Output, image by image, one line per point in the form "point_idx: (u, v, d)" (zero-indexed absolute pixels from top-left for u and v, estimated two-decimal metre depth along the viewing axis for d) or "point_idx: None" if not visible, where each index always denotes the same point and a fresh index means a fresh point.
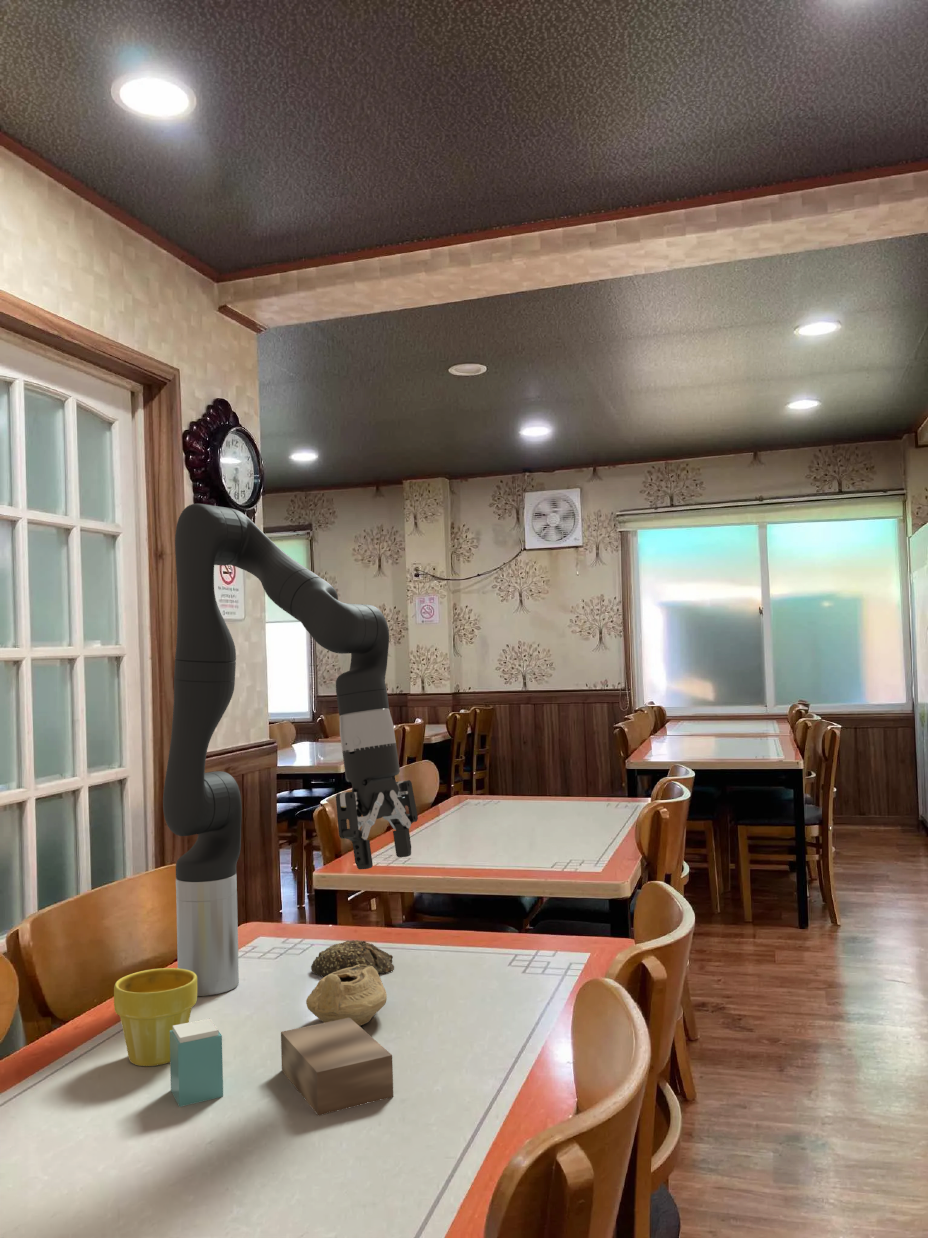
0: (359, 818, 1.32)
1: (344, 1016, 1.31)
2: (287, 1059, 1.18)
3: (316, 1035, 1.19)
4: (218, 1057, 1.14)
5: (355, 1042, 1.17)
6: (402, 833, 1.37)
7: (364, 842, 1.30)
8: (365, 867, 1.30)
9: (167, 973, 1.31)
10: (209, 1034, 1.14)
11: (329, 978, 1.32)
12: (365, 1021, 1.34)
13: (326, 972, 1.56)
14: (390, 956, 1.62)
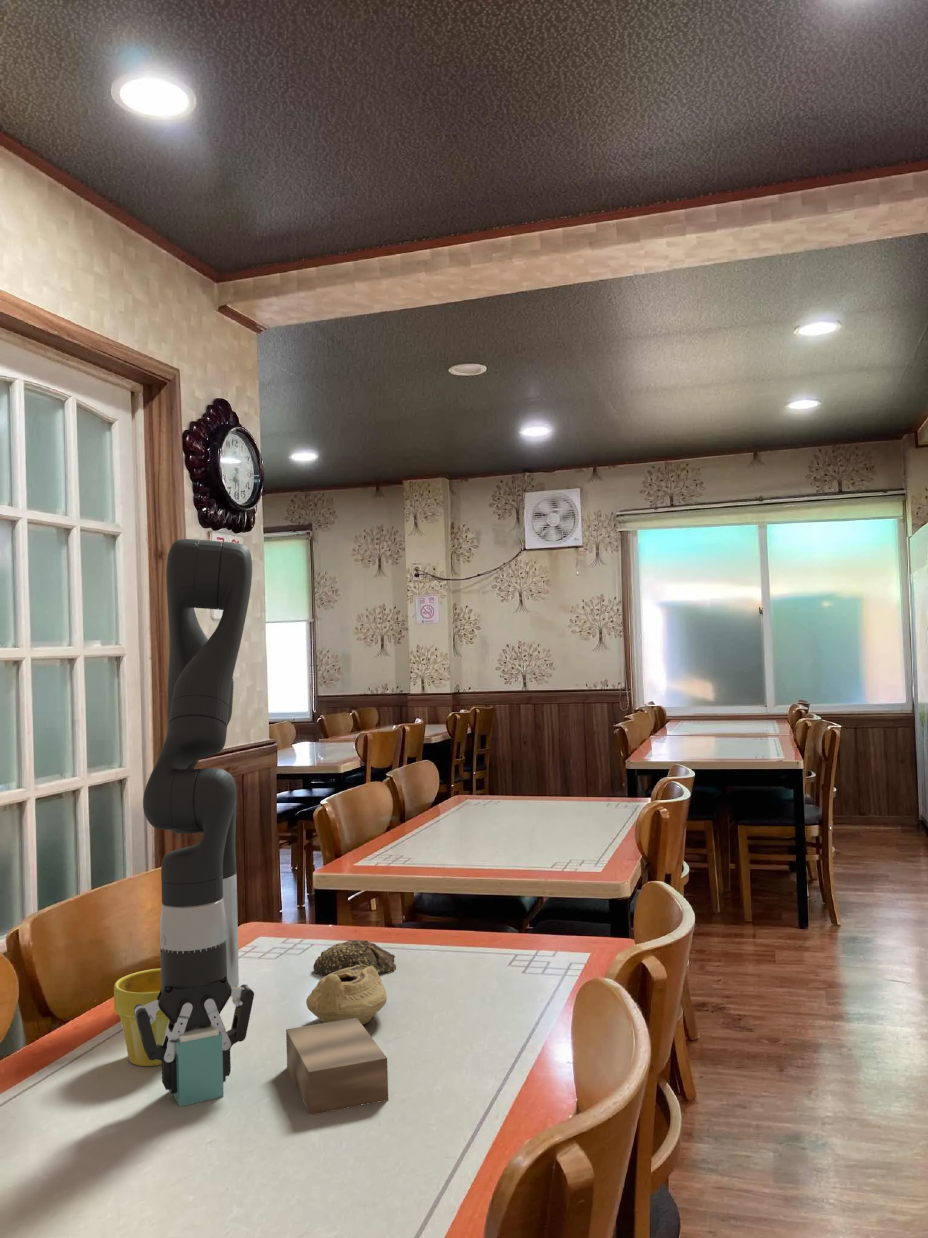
0: (168, 1032, 1.14)
1: (344, 1016, 1.31)
2: (290, 1057, 1.19)
3: (319, 1034, 1.20)
4: (218, 1057, 1.14)
5: (355, 1042, 1.16)
6: None
7: (170, 1063, 1.13)
8: (169, 1091, 1.13)
9: None
10: (209, 1034, 1.14)
11: (329, 978, 1.32)
12: (365, 1021, 1.34)
13: (329, 972, 1.56)
14: (392, 955, 1.62)
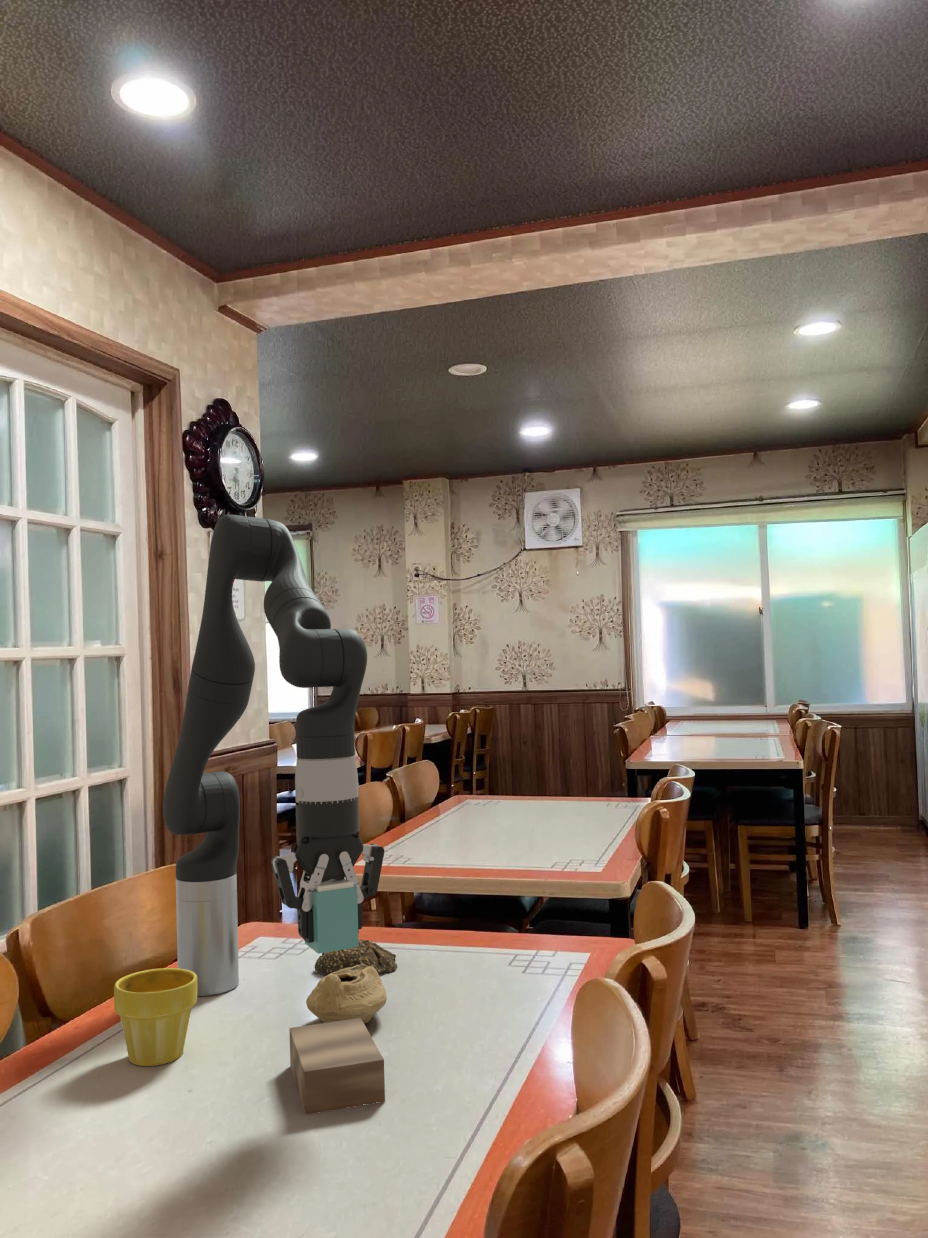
0: (304, 883, 1.16)
1: (344, 1016, 1.31)
2: (292, 1055, 1.19)
3: (320, 1034, 1.20)
4: (354, 908, 1.16)
5: (355, 1043, 1.16)
6: None
7: (307, 912, 1.15)
8: (306, 940, 1.15)
9: (167, 973, 1.31)
10: (345, 885, 1.16)
11: (329, 978, 1.32)
12: (365, 1021, 1.34)
13: (330, 971, 1.56)
14: (393, 955, 1.62)
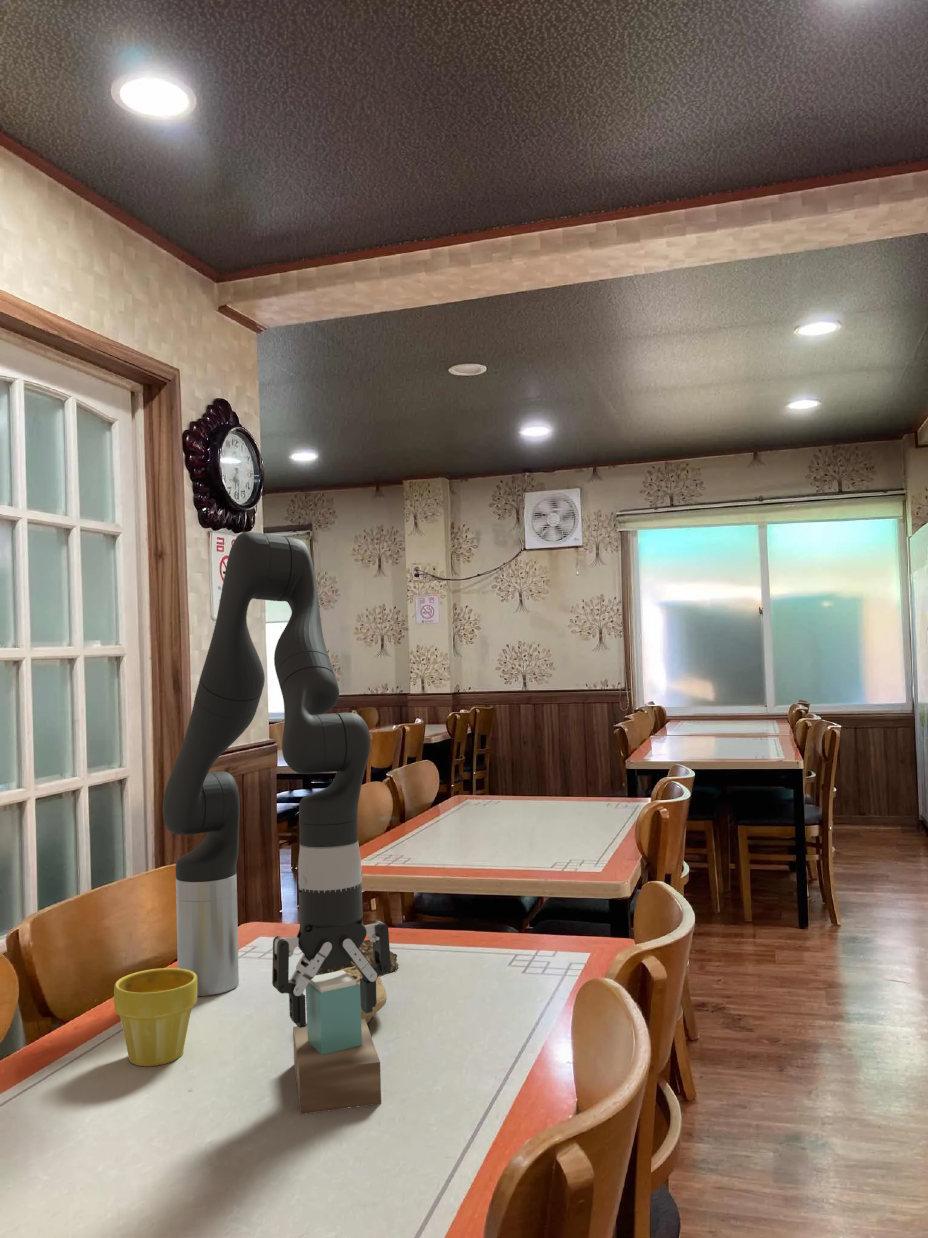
0: (301, 967, 1.15)
1: None
2: None
3: None
4: (357, 1006, 1.16)
5: None
6: (365, 985, 1.18)
7: (298, 997, 1.14)
8: (298, 1025, 1.14)
9: (167, 973, 1.31)
10: (348, 984, 1.15)
11: None
12: None
13: (331, 971, 1.56)
14: (394, 955, 1.63)
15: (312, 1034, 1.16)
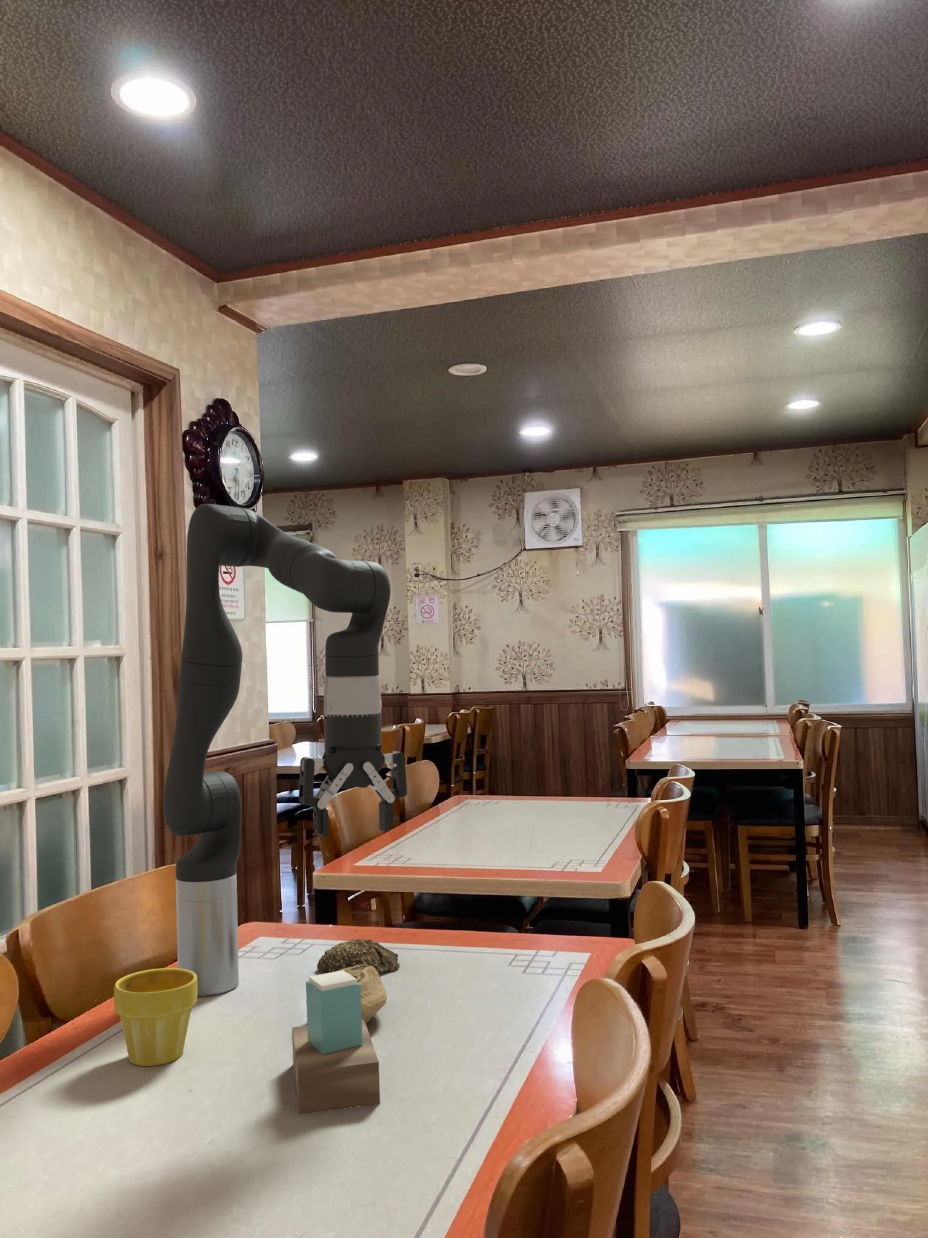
0: (325, 785, 1.28)
1: None
2: None
3: None
4: (357, 1006, 1.16)
5: None
6: (383, 806, 1.30)
7: (321, 810, 1.26)
8: (321, 836, 1.27)
9: (167, 973, 1.31)
10: (348, 983, 1.16)
11: None
12: (365, 1021, 1.34)
13: (332, 971, 1.56)
14: (395, 955, 1.63)
15: (312, 1034, 1.16)
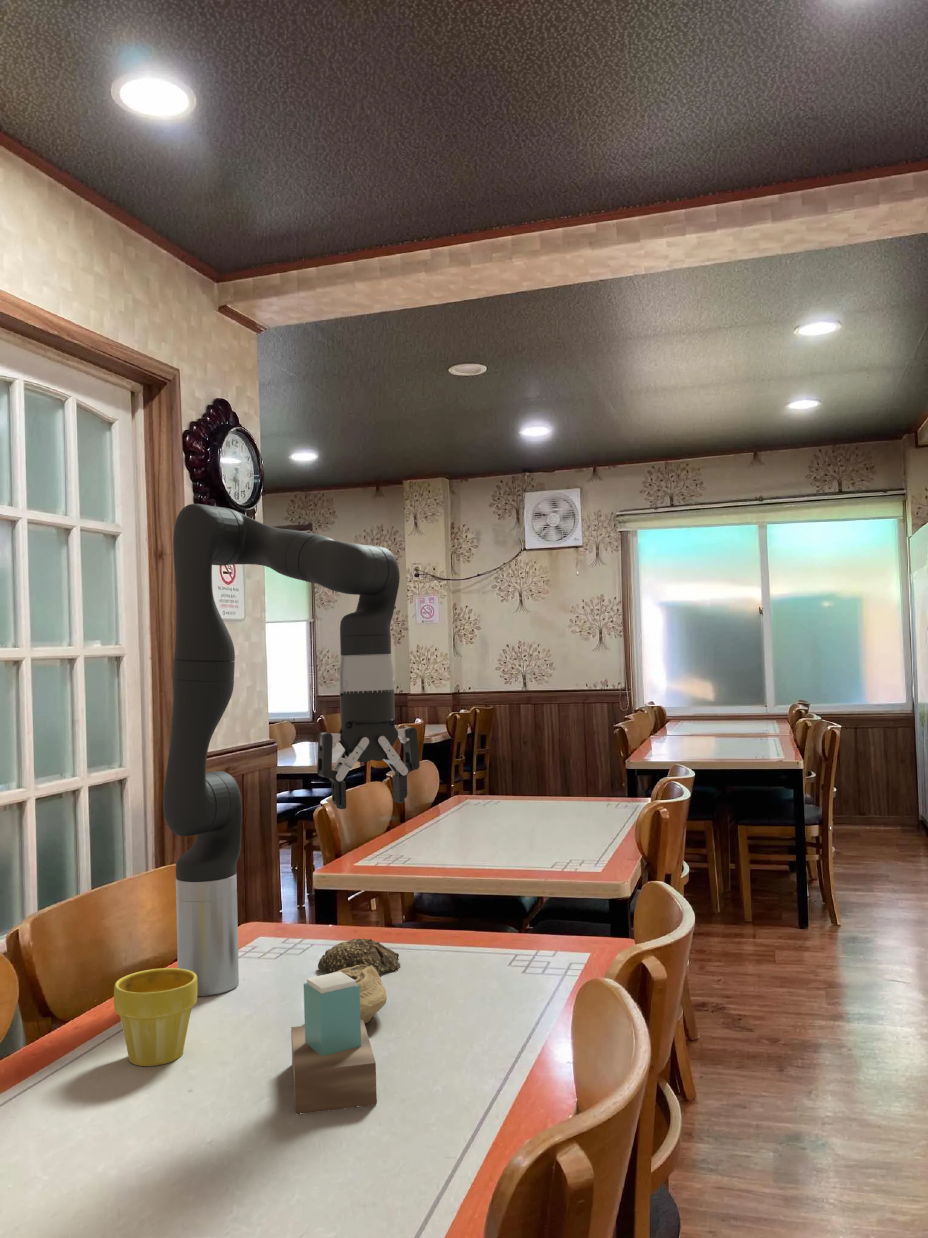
0: (342, 759, 1.34)
1: None
2: (292, 1055, 1.20)
3: None
4: (356, 1007, 1.15)
5: None
6: (397, 779, 1.37)
7: (340, 783, 1.33)
8: (339, 807, 1.33)
9: (167, 973, 1.31)
10: (347, 985, 1.15)
11: None
12: (365, 1021, 1.34)
13: (333, 970, 1.56)
14: (396, 954, 1.63)
15: (311, 1036, 1.16)
